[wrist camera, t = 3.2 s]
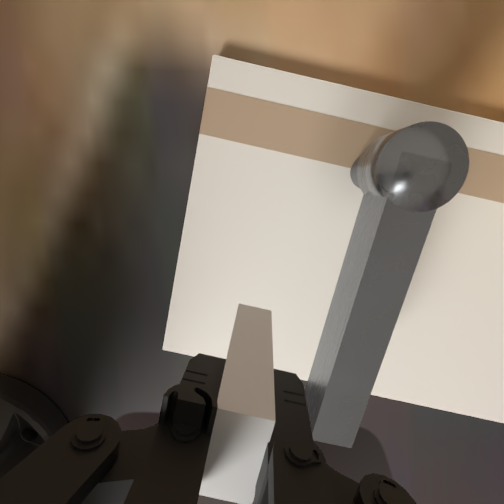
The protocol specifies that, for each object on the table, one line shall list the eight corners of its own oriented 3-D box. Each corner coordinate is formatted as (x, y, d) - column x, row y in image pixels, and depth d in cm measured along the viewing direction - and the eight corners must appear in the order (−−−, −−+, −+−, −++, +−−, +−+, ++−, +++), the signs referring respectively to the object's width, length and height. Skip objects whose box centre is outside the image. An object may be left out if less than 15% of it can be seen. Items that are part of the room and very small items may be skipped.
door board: (166, 342, 27) (120, 421, 18) (215, 61, 22) (183, -20, 13) (505, 415, 27) (620, 527, 18) (628, 157, 22) (867, 143, 13)
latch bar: (291, 395, 21) (296, 436, 18) (369, 125, 17) (395, 112, 14) (348, 407, 21) (365, 450, 18) (439, 141, 17) (483, 132, 14)
